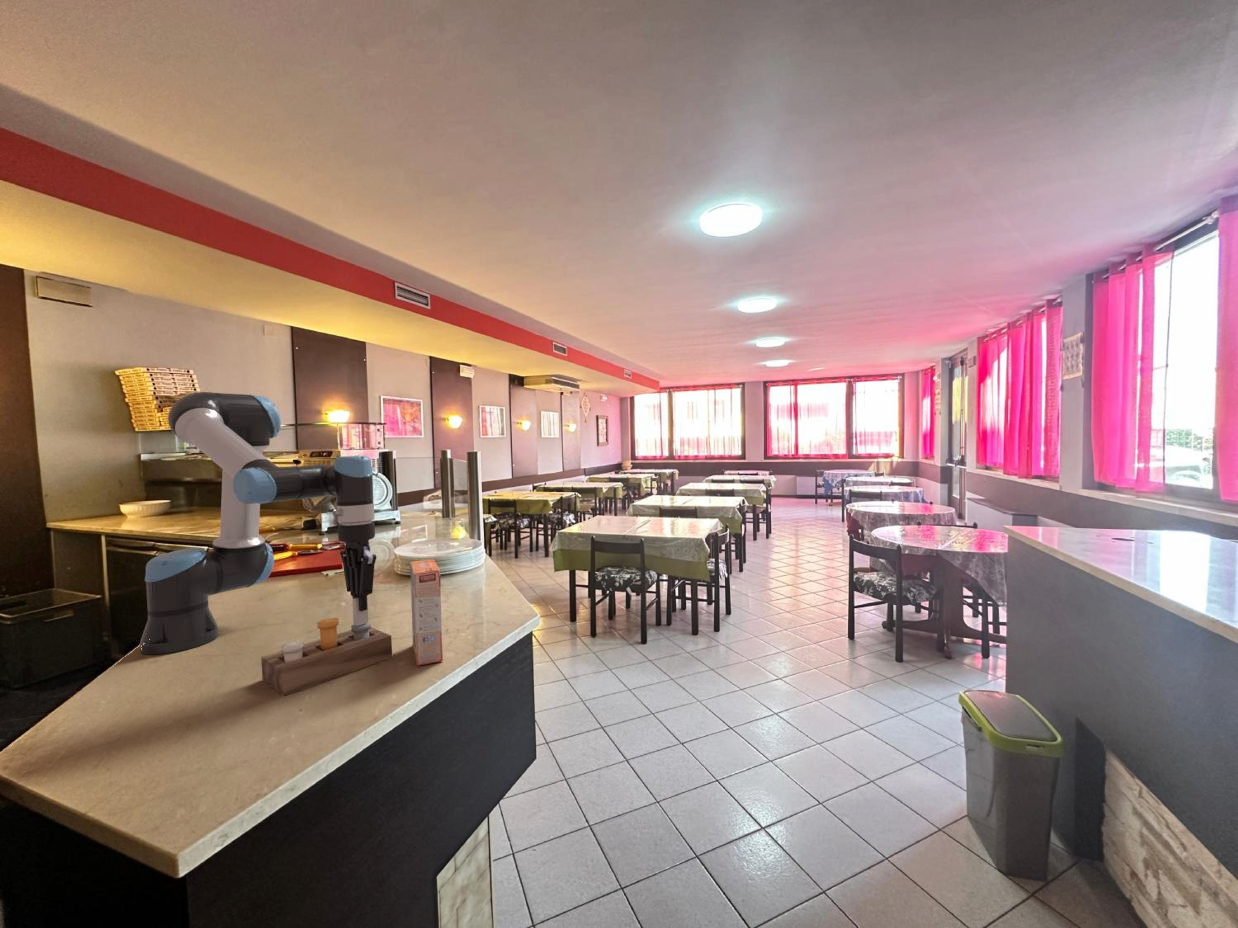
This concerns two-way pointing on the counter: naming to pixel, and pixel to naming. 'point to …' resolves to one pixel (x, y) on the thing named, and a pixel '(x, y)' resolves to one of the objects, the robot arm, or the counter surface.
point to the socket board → (325, 661)
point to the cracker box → (426, 611)
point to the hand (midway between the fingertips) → (361, 623)
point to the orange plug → (328, 633)
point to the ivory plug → (292, 650)
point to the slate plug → (361, 631)
